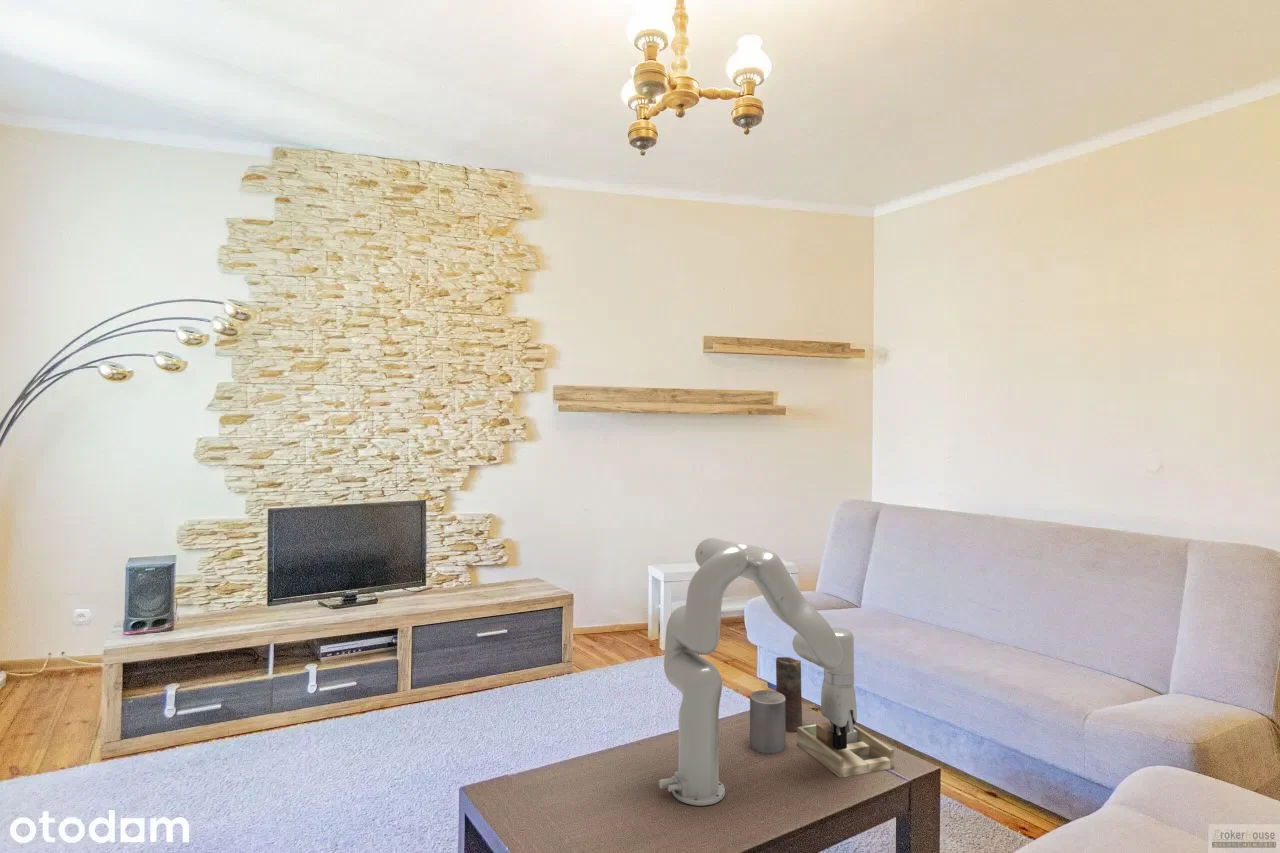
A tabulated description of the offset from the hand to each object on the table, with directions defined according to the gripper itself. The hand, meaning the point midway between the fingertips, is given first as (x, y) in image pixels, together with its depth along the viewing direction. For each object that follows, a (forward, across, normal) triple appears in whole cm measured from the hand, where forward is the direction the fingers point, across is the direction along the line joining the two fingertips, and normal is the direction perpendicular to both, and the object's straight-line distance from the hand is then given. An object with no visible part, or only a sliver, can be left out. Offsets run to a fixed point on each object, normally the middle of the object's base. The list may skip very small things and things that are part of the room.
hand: (839, 747), depth 184 cm
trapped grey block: (+4, -7, +7) cm, 11 cm away
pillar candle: (+4, -14, -13) cm, 20 cm away
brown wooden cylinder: (+4, -24, -1) cm, 24 cm away
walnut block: (+1, -5, 0) cm, 5 cm away
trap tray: (+4, -3, +3) cm, 6 cm away
